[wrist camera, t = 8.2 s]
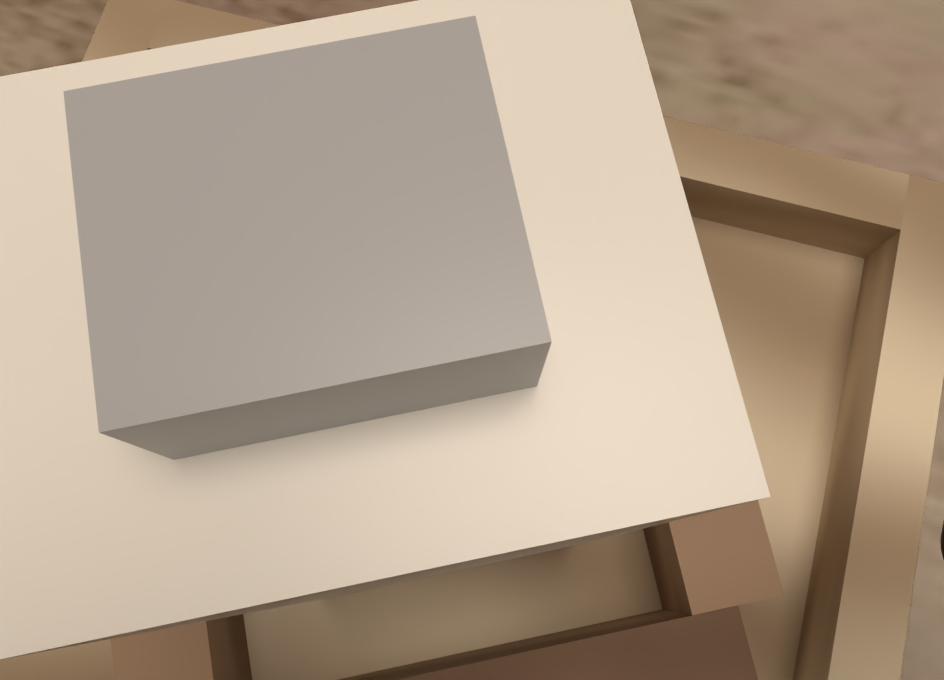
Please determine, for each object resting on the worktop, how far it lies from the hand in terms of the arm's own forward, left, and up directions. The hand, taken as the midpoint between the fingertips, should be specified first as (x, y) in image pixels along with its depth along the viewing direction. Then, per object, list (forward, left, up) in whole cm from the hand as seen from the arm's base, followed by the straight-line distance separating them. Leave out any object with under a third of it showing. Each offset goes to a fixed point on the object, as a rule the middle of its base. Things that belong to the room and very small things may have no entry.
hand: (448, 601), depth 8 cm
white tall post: (+2, +1, -10) cm, 11 cm away
